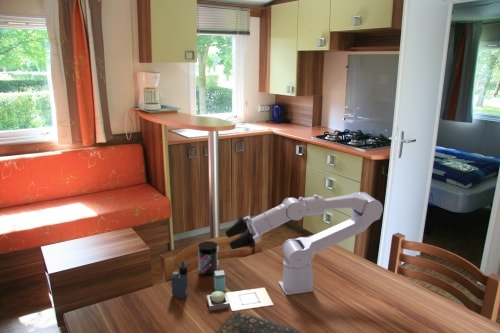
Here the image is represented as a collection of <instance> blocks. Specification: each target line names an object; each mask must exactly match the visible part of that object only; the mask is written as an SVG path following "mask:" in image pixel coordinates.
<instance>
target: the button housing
mask: <svg viewBox="0 0 500 333" xmlns="http://www.w3.org/2000/svg"><path fill="white" fill-rule="evenodd" d="M223 293H224V302H221V303H214V304H213V303H212V300H211V294H207V295H206V301H207V305H208V308H209V311H215V310H223V309H228V308H229V309H230V303H229V301H228V298H227V295H226V293H227V292H223Z"/></svg>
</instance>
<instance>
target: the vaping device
mask: <svg viewBox="0 0 500 333" xmlns="http://www.w3.org/2000/svg"><path fill="white" fill-rule="evenodd" d="M178 269H179V270H178V271H177V270H176V271H173V272H172V275H171V277H170V278H171V295H172V297H173V298H176V299H177V298H178V299H186V298H187V297H188V296H189V295H188V293H189V292H188V280H189V278H188V264H187V263H186V262H185V261H181V263H180V264H179V267H178Z"/></svg>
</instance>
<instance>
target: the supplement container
mask: <svg viewBox="0 0 500 333" xmlns="http://www.w3.org/2000/svg"><path fill="white" fill-rule="evenodd" d="M197 251H198V252H197V253H198V272H199V274H200V275H202V276H204V277H212V276H214V271H219V269H218V244H217V242H215V241H210V240H209V241H207V240H206V241H202V242H200V243H198V245H197Z"/></svg>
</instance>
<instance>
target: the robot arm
mask: <svg viewBox="0 0 500 333" xmlns="http://www.w3.org/2000/svg"><path fill="white" fill-rule="evenodd" d="M335 209H351V215H350V218H349V219H347V220H344V221H342V222H340V223H338V224H336V225H333V226H331V227H329V228H327V229H325V230H322V231H319V232H318V233H315V234H313V235H311V236H308V237H302V236H299V237H297V238H289V239H286V240H285V241H284V242H283V244H282V246H281V251H282V253H283V255H284V258H283V262H282V263H283V264H282V280H279V281H278V285H279V286H280V287H281V289H282V290H283V293H285V294H284V295H287V296H290V295H296V294H304V293H311V292H314V289H313V284H314V283H313V281H314V269H313V265H312V263H311V261H312V260H314V258H315V254H317V253H319V252H321V251H323V250H326V249H328V248H330V247H333V246H334V245H336V244H338V243H341V242H343V241H345V240H348V239H350V238H352V237H354V236H356V235H359V234H361V233H363V232H365V231H366V230H367V229H368V228H369V226H371V224H373V222H376V221H377V220H378V221H379V220H380V219H381V216H382V213H383V210H384V206H383V204H382V203H381V201H380V200H377V199H376V198H374V197H372V196H371V195H370V194H369V193H368V192H364V191H360V192H356V191H355V192H353V193H350V194H345V195H339V196H334V197H330V198H329V197H327V198H324V197H323V196H322V195H318V194H313V196H309V197H303V196H299V197H298V199H297V198H295V197H286V198H284V199H283V200H282V203H280V204H279V205H277V206H275V207H273V208H270V209H268V210H266V211H264V212H263V213H260V214H258V215H257V216H254V217H253V218H251V217H250V215H247V216H245V217H243V216H240V217H239V218H238V219H237V221H236V222H234V224H233V225H231V226H230V227H229V228H228V229H226V231H225V232H224V233H225V234H226V237H227V238H228V239H229V238H233V237H235V236H238V235H239V236H238V237H236V238H234V239H233V240H231V241H229V243H228V244H229V246H230V248H231V250H235V249H240V248H247V247H249V248H250V247H251V248H254V247H256V244H258V243H260V242H262V238H261V237H260V236H261V235H263V234H265V233H267V232H270V231H271V230H273V229H275V228H277V227H279V226H281V225H283V224H285V223H287V222H289V221H291V220H292V221H300V220H302V219H303V218H304V217H308V216H315V215H316V216H317V215H322V214H324V213H325V212H326V211H327V210H335Z"/></svg>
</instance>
